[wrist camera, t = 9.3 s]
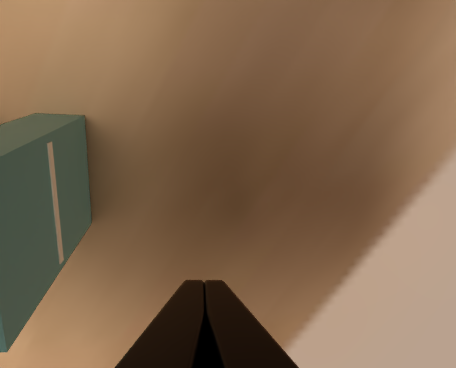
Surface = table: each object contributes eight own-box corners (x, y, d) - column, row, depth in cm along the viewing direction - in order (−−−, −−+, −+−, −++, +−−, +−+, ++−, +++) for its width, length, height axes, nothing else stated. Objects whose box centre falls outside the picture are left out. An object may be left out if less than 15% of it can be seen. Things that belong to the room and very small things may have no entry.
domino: (85, 115, 15) (-22, 168, 8) (92, 222, 17) (9, 352, 10) (34, 113, 15) (-127, 165, 8) (46, 221, 17) (-77, 353, 9)
